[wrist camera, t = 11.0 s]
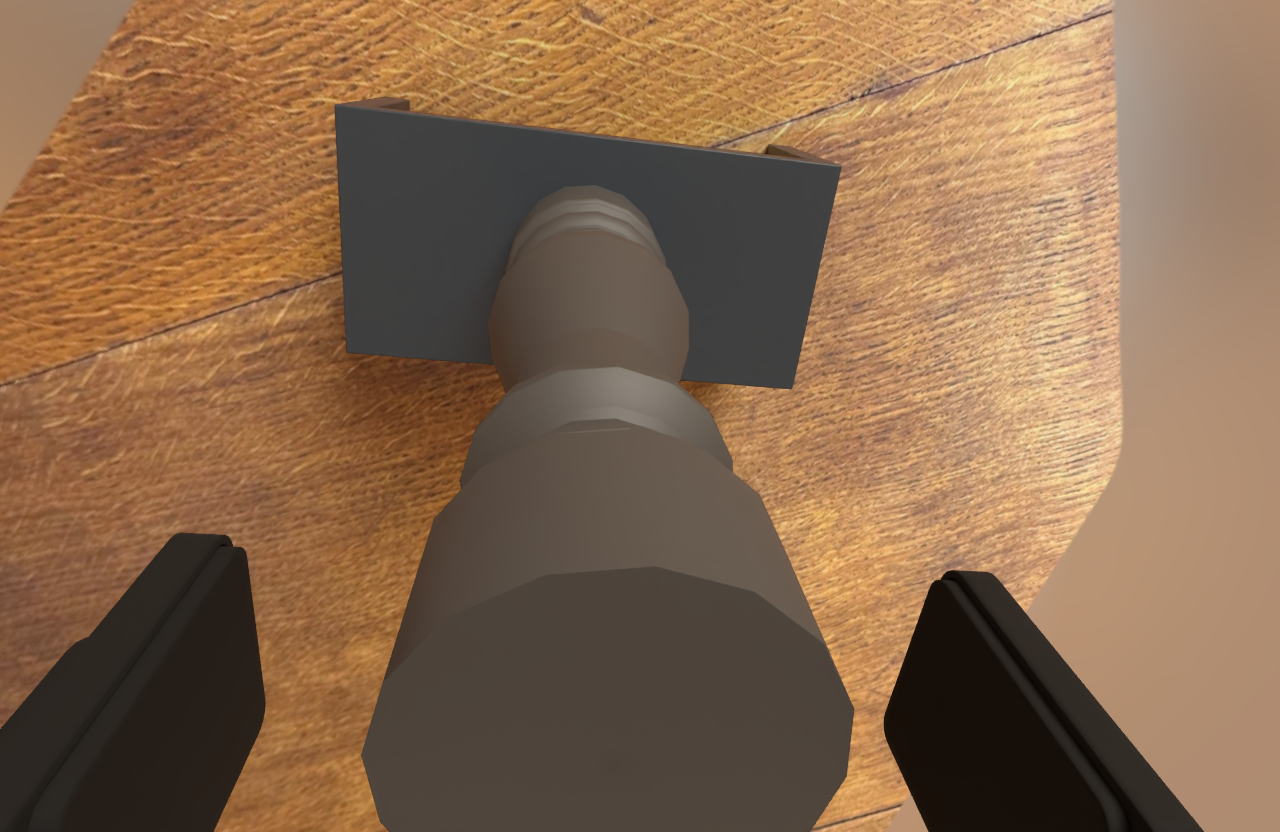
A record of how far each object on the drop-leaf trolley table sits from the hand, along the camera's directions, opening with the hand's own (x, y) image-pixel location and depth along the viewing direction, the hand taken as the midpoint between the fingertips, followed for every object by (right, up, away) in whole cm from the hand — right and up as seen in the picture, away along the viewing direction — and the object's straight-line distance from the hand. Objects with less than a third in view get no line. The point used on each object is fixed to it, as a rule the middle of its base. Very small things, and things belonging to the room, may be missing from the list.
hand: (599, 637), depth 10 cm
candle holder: (-2, +10, +21) cm, 23 cm away
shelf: (-2, +13, +28) cm, 31 cm away
